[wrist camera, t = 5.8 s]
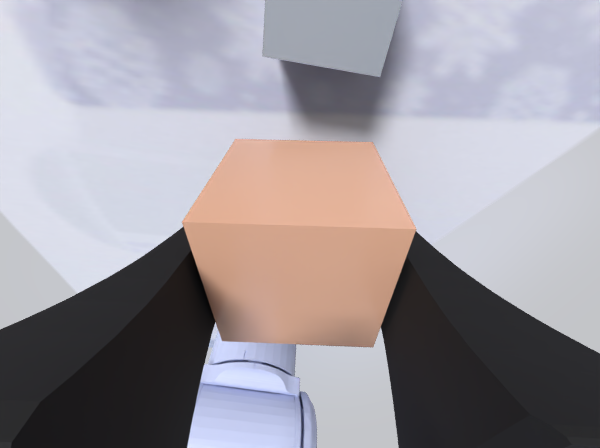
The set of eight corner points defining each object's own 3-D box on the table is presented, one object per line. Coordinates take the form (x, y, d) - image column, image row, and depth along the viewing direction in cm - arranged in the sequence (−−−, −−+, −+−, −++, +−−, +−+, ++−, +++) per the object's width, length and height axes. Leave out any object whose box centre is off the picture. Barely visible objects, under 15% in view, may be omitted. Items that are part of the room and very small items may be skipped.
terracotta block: (354, 244, 13) (373, 347, 9) (250, 241, 13) (222, 341, 9) (372, 142, 9) (416, 229, 6) (235, 139, 10) (182, 222, 6)
